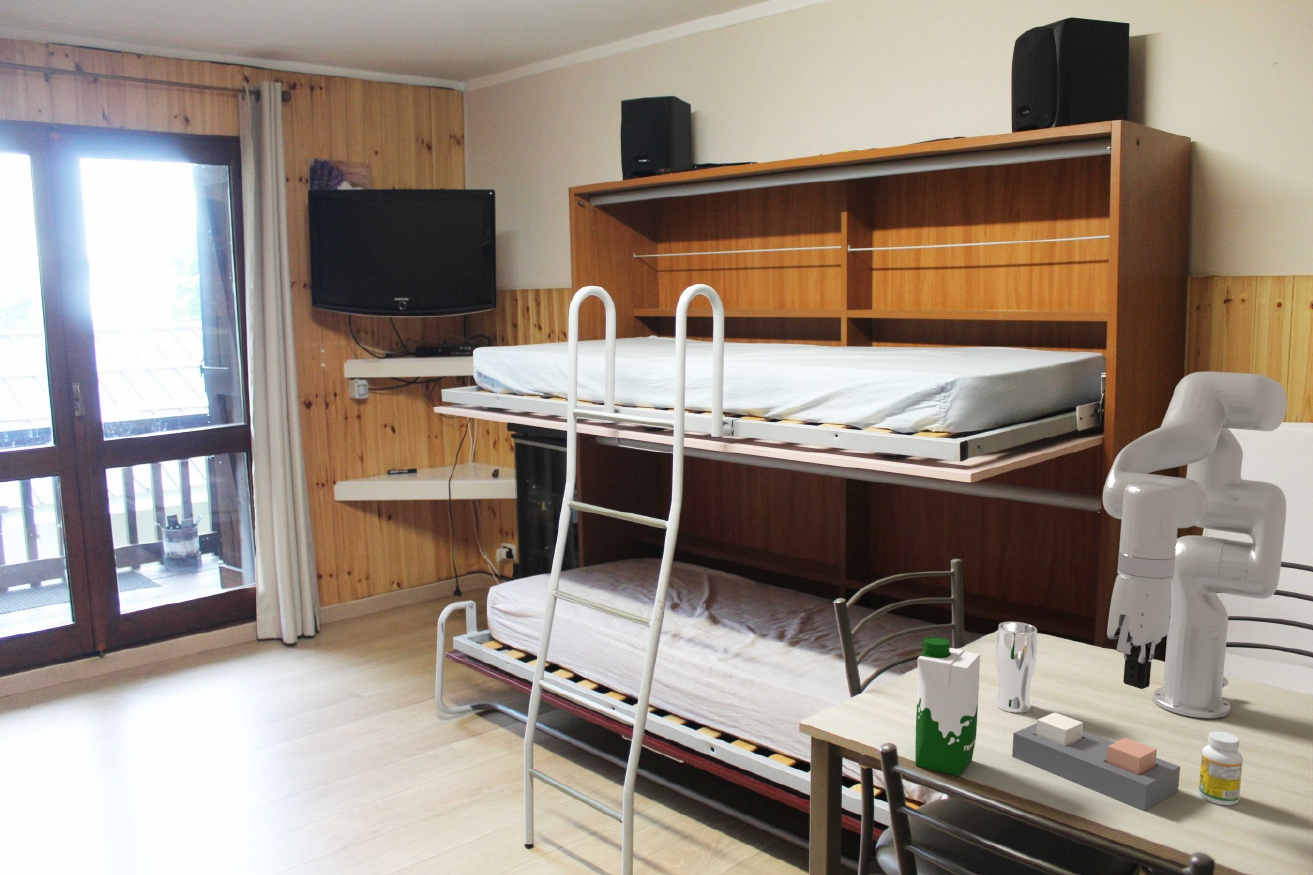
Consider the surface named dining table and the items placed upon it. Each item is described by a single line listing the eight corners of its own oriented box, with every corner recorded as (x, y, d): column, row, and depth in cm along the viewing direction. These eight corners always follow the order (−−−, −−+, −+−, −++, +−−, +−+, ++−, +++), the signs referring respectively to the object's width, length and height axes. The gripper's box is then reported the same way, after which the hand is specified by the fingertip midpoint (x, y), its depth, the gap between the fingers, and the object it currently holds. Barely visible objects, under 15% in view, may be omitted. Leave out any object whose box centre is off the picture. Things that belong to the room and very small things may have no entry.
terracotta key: (1123, 759, 160) (1124, 737, 160) (1155, 771, 156) (1156, 749, 156) (1106, 767, 157) (1107, 746, 157) (1137, 780, 153) (1139, 757, 153)
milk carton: (924, 746, 171) (930, 630, 168) (980, 759, 166) (986, 640, 163) (907, 766, 163) (913, 645, 161) (964, 781, 159) (971, 656, 156)
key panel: (1047, 740, 173) (1048, 718, 173) (1178, 791, 156) (1180, 766, 155) (1012, 756, 167) (1013, 732, 167) (1144, 810, 150) (1146, 785, 149)
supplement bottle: (1234, 810, 150) (1240, 748, 149) (1194, 798, 154) (1199, 737, 153) (1242, 796, 155) (1248, 736, 153) (1203, 785, 158) (1208, 726, 157)
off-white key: (1053, 732, 169) (1054, 712, 169) (1081, 743, 166) (1083, 722, 165) (1035, 740, 166) (1037, 719, 166) (1064, 751, 163) (1065, 730, 162)
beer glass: (1027, 700, 191) (1032, 621, 189) (1037, 715, 184) (1042, 634, 182) (989, 698, 191) (993, 620, 189) (997, 713, 185) (1002, 632, 182)
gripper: (1146, 554, 159) (1137, 668, 162) (1094, 567, 150) (1085, 688, 153) (1196, 564, 153) (1185, 682, 156) (1144, 578, 145) (1134, 704, 147)
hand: (1136, 685), depth 154 cm, fingers closed
